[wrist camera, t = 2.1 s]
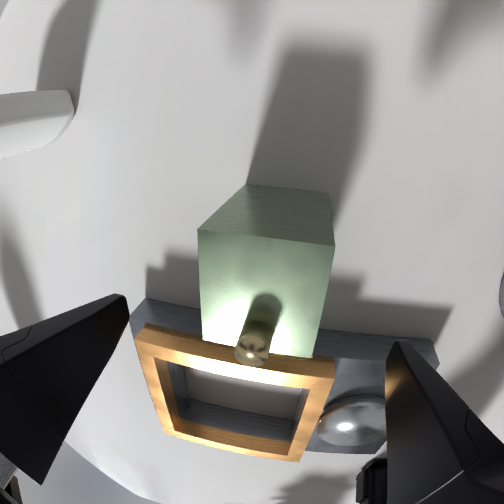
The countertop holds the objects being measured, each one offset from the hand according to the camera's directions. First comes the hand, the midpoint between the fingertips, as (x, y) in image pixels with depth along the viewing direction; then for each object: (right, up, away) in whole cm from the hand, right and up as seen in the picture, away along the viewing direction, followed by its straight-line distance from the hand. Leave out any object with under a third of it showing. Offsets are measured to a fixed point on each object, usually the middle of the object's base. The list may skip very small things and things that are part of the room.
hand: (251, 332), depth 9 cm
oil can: (+2, +4, +8) cm, 9 cm away
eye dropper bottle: (-15, +12, +7) cm, 20 cm away
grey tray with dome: (+2, -8, +13) cm, 16 cm away
